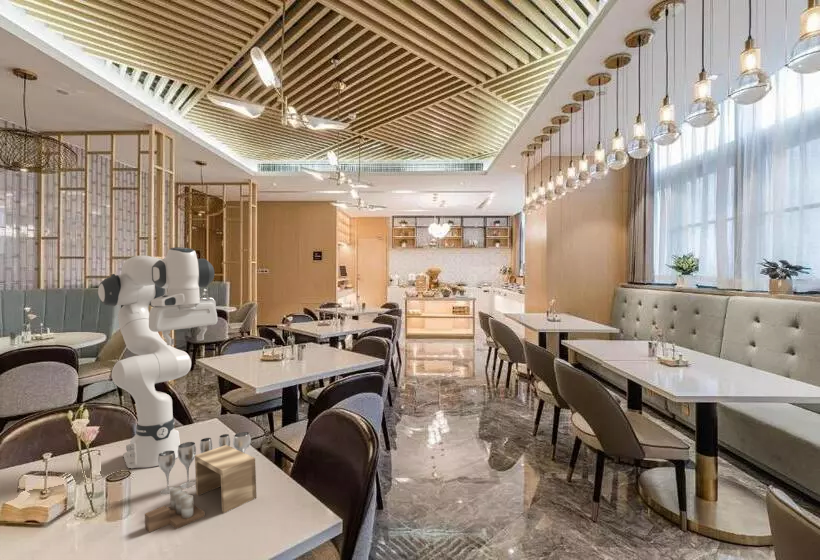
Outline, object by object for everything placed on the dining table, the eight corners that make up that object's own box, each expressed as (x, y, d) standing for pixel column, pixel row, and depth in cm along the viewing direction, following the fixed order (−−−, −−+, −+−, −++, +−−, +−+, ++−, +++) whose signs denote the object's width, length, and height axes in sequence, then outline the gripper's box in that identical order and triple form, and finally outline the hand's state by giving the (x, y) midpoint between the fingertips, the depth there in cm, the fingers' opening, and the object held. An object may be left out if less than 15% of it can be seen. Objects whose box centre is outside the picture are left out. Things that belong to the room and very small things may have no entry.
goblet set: (160, 497, 130) (159, 454, 130) (158, 490, 135) (156, 448, 135) (254, 469, 148) (252, 431, 147) (248, 463, 152) (247, 426, 152)
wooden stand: (196, 494, 131) (194, 455, 131) (227, 481, 139) (226, 444, 139) (224, 513, 121) (222, 470, 120) (256, 498, 128) (255, 458, 128)
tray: (139, 523, 117) (138, 500, 117) (187, 503, 126) (186, 482, 126) (155, 538, 110) (155, 514, 110) (204, 516, 119) (204, 494, 119)
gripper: (209, 296, 146) (211, 337, 146) (145, 300, 129) (147, 346, 129) (220, 296, 142) (222, 338, 142) (155, 301, 125) (157, 348, 125)
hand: (185, 342), depth 135 cm, fingers open, 8 cm apart
